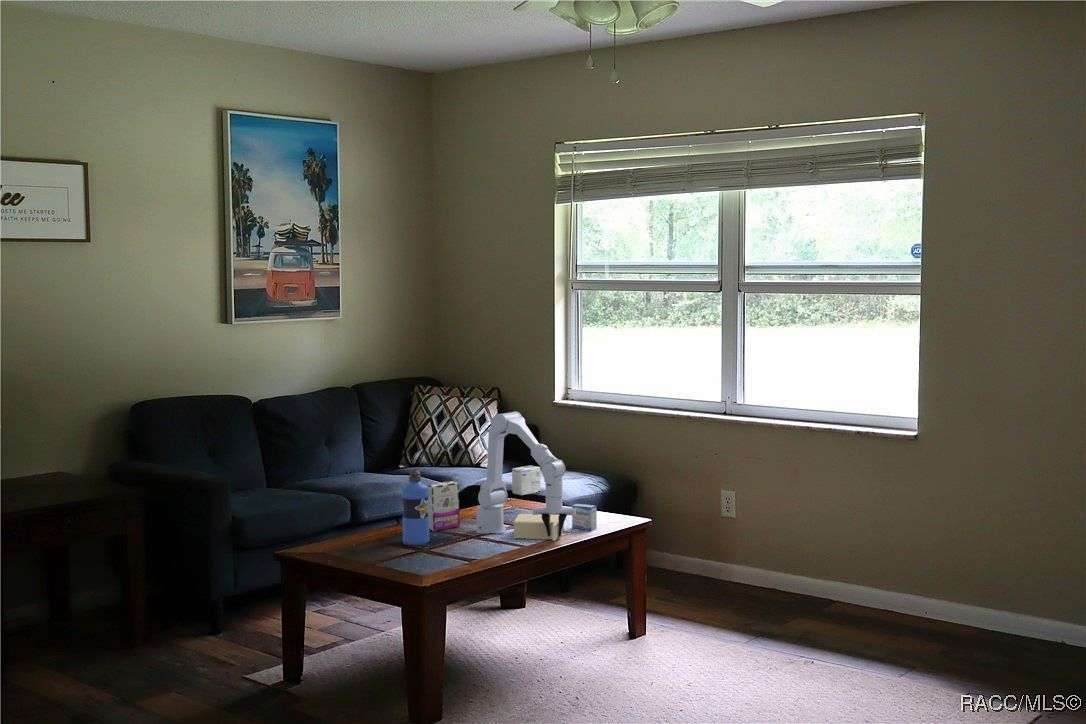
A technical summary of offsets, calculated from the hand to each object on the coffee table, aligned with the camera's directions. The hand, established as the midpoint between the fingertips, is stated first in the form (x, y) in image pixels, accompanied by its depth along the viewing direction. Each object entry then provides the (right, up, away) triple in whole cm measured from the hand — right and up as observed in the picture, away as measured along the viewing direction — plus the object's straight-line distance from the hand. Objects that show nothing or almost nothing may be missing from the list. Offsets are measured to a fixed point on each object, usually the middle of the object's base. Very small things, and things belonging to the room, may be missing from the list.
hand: (554, 535), depth 362 cm
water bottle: (-47, -3, +4) cm, 48 cm away
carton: (-5, -2, +12) cm, 13 cm away
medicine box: (+11, -1, +20) cm, 23 cm away
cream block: (-6, -2, +2) cm, 7 cm away
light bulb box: (-11, +3, +89) cm, 90 cm away
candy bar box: (-40, -1, +24) cm, 47 cm away
